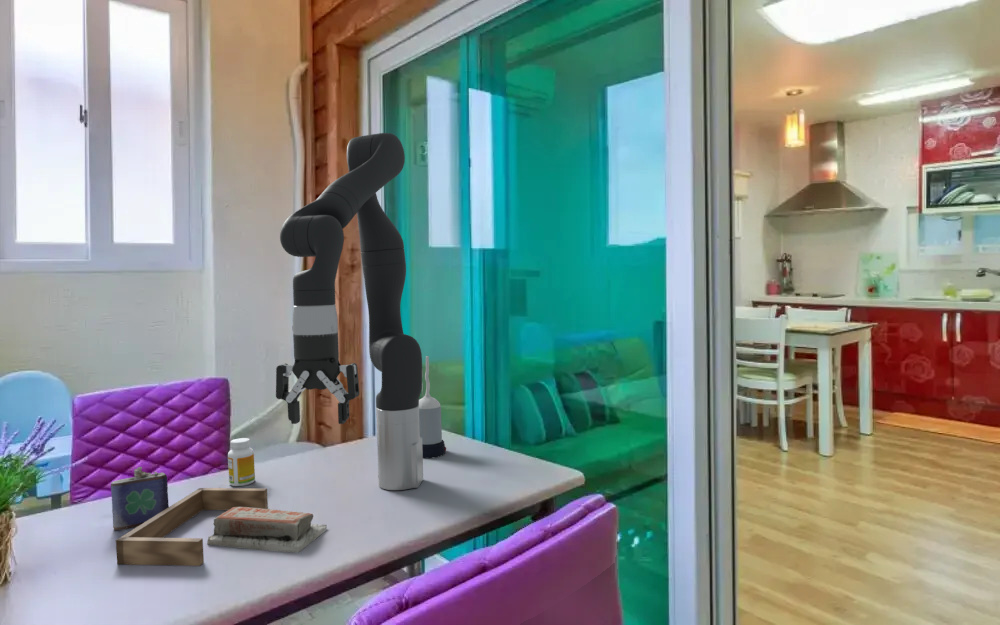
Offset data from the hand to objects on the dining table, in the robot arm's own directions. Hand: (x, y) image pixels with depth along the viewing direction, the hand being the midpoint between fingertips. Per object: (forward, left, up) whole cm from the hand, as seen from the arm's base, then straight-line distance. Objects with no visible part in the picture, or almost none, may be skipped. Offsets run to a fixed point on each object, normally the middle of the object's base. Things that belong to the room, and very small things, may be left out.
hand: (318, 422), depth 110 cm
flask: (+37, -4, -20) cm, 42 cm away
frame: (+23, 0, -20) cm, 30 cm away
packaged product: (+10, +1, -21) cm, 23 cm away
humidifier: (-9, -50, -20) cm, 55 cm away
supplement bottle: (+29, -27, -20) cm, 44 cm away
